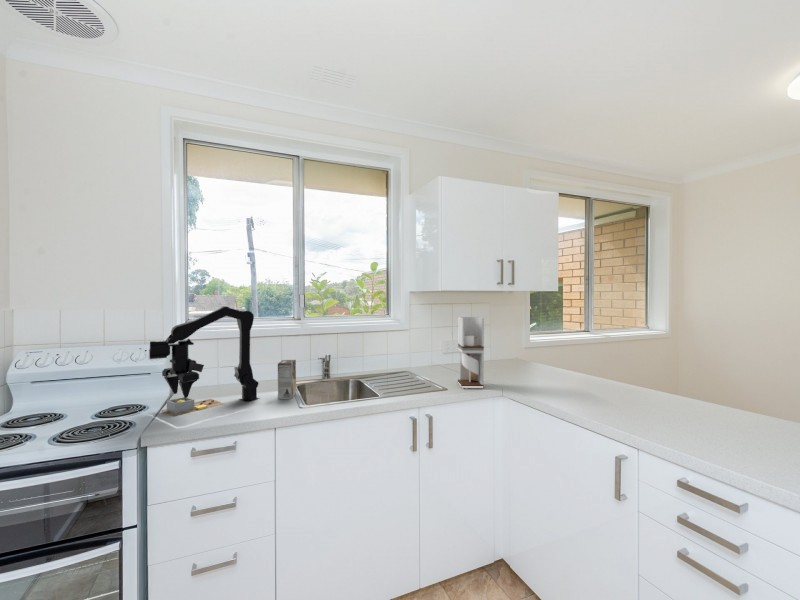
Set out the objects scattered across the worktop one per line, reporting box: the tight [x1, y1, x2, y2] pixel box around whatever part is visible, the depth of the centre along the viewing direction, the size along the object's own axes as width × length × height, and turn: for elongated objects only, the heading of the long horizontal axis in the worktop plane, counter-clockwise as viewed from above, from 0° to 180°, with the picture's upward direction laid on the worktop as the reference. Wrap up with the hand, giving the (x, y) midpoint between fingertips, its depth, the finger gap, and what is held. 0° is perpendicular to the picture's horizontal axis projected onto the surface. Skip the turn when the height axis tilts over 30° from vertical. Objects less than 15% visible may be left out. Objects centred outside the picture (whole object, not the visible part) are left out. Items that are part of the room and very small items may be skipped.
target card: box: [194, 404, 209, 411], centre depth 151 cm, size 4×4×1 cm
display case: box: [457, 316, 485, 386], centre depth 190 cm, size 11×11×35 cm
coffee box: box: [277, 359, 297, 400], centre depth 171 cm, size 9×6×16 cm
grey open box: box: [166, 396, 195, 414], centre depth 148 cm, size 7×7×4 cm
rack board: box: [160, 398, 225, 417], centre depth 153 cm, size 12×20×1 cm, turn 144°
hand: (180, 395), depth 148 cm, fingers open, 9 cm apart
